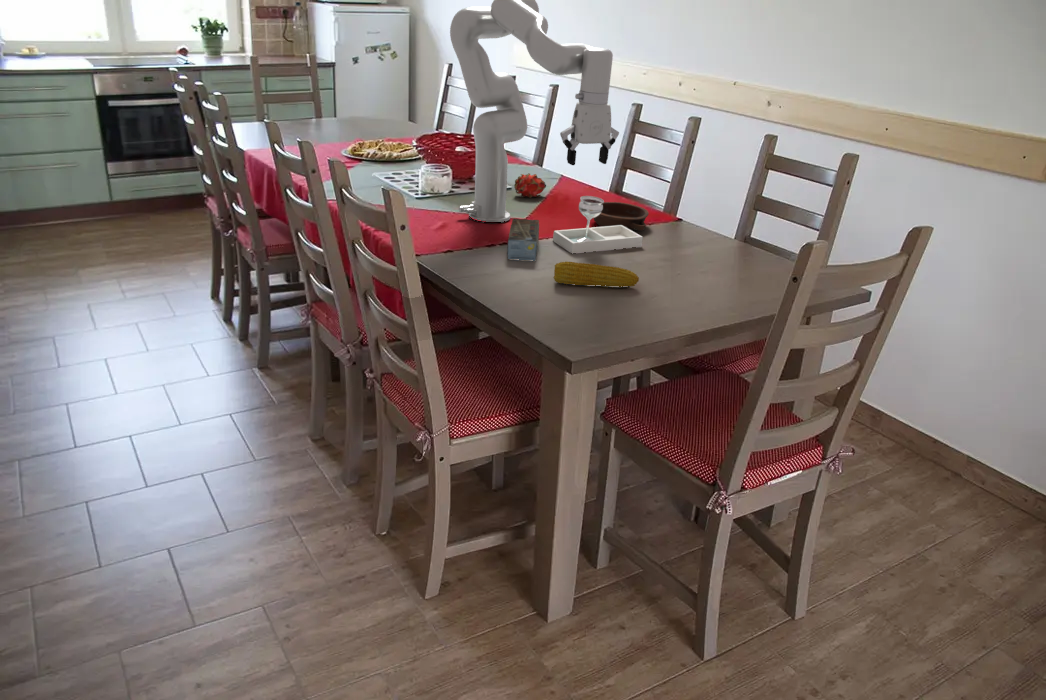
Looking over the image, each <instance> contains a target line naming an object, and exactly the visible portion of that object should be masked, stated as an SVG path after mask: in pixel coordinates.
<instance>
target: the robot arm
mask: <svg viewBox="0 0 1046 700" xmlns="http://www.w3.org/2000/svg"><path fill="white" fill-rule="evenodd" d="M548 23H549V22H548V20H547V18H546V17H545V16H544V15H542V14H541V13H540V8H539V4H538V2H537V1H536V0H493V1H492V2H491V5H490V6H469V7H465V8H462V9H460V10H459V11H457V12H456V13H455V15H454V16H453V17H452V20H451V23H450V28H449V29H450V30H449V34H450V35H449V36H450V41H451V44H452V45H451V46H452V48H453V51H454V52H455V54H456V58H457V60H458V62H459V66H460V70H461V74H462V77H463V80H464V85H465V88H466V91H467V95H468V97H469V101H470V102H471V104H472V105H473V106H474V107H476V108H479V109H480V108H481V109H484V108H486V109H487V108H494V107H495V108H496V110H488V111H485V112H483V113H481V114H479V115H478V116H477V117H476V118H475V120H474V123H473V129H472V131H473V137H474V138H473V139H474V145H475V173H474V174H475V178H474V180H475V181H474V200H473V201H471V203H470V204H468V205H459V206H458V210H459V211H458V212H459V213H466V214H468V217H469V216H470V217H472V218H474V219H477V220H481V221H486V222H501V223H505V222H507V221H509V220H510V219H511V213H510V212H508V211H507V210H506V208H507V207H506V206H507V205H506V204H507V189H508V168H509V167H508V166H509V165H508V164H509V163H508V161H509V159H508V155H507V152H506V148H505V146H504V145H505V144H507V143H513V142H518V141H520V140H522V139H523V138H524V137H525V136H526V133H527V131H528V120H527V116H526V111H525V109H524V104H523V101H522V98H521V93H520V90H519V87H518V84H517V81H516V80H515V78H513V76H512V75H510V74H509V73H507V72H499V71H498V72H496V71H495V72H494V70H493V69H492V65H491V62H490V58H489V55H488V54H487V51H486V50H485V49H484V47H483V45H481V44H480V42H479V40H481V39H482V40H486V39H487V40H488V39H489V40H490V39H500V38H505V37H507V36H509V35H512V36H514V38H516V39H517V40H519V41H520V42H521V43H523V44H524V45H525V46H526V50H527V52H528V54H529V56H530V58H531V59H532V60H533V62H535V63H536V64H537V65H539V66H541V67H542V68H543V69H544V70H546V71H547V72H549V73H551V74H553V75H556V76H565V75H567V76H568V75H579V74H581V78H580V89H579V92H578V93H575V97H574V98H575V100H578V101H577V102H576V105H575V108H574V111H573V115H572V121H571V126H569V127H568V128H566V129H564V130H562V131H561V132H559V133H560V134H559V135H560V137H561V140H562V143H563V144H564V146H565V148H566V149H567V153H566V154H567V155H566V161H567V164H569V165H570V166H575V165H576V158H577V150H576V148H577V147H578V146H579V145H580V144H583V145H585V144H586V145H589V144H595V145H596V144H601V146H600V147H599V154H598V162H599V163H601V164H603V165H606V164H607V162H608V158H609V151H610V150H611V149H612V146H613V145H614V143H615V142H616V140H617V138H618V136H619V134H620V132H619V131H618V130H616V129H615V128H613V127H612V108H611V107H612V106H611V104H610V103H609V94H610V85H611V75H612V67H613V59H614V58H613V56H614V55H613V51H611V49H609V48H605V47H595V46H590V45H588V44H585V43H581V42H580V43H561V44H560V43H558V42H557V41H555V40H554V39H552V38H551V37H549V35H547V33H548V30H549V24H548ZM569 135H570V140H569V137H568V136H569ZM470 217H469V218H470ZM504 221H505V222H504Z"/></svg>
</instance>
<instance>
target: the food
mask: <svg viewBox="0 0 1046 700" xmlns="http://www.w3.org/2000/svg"><path fill="white" fill-rule="evenodd" d="M553 275H554V276H553V281H554V282H556V283H557V282H558V283H557V284H562V283H564V284H563V285H565V284H566V285H567V284H575V285H595V286H596V285H601V286H605V285H606V286H619V287H621V286H622V287H623V286H630V287H635V285H637V283H639V281H640V278H639V276H638V275H637V273H635V272H634V271H632V270H631V269H630V270H629V269H626V268H622V267H617V266H610V265H603V264H595V263H585V262H575V261H560V262H558V263H555V265H554V273H553ZM575 285H574V286H575Z"/></svg>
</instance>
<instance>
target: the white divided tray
mask: <svg viewBox="0 0 1046 700" xmlns="http://www.w3.org/2000/svg"><path fill="white" fill-rule="evenodd" d="M552 234H553V235H552V236H553V237H552V242H554V243H556V244H557V245H558V246H560V247H561V248H562V249H564V250H566V251H567V252H569V253H570V254H571V253H572V255H574V254H573V253H576V254H583V253H584V252H586V253H594V252H593V251H596V252H605V251H615V250H614V249H616V250H622V249H623V248H626V249H633V248H632V247H636V248H642V245H643V236H642V235H640V234H638V233H637V232H635V231H633V229H632V230H630V229H628V228H626V227H624V226H623V225H616V226H604V227H602V226H596V227H595V226H593V227H589V228H588V233H587V238H589V239H591V240H593V241H582V242H578V241H577V238H585V235H586V227H584V228H583V227H581V228H570V229H560V230H558V229H557V230H553V233H552ZM623 250H624V249H623Z"/></svg>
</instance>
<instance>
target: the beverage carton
mask: <svg viewBox="0 0 1046 700" xmlns="http://www.w3.org/2000/svg"><path fill="white" fill-rule="evenodd" d="M539 235H540V221H539V219H527V218H525V219H524V218H521V219H519V218H512V221H511V225H510V229H509V233H508V238H507V239H508V240H507V253H506V254H507V260H508V259H519V260H533V261H535V260H536V258H537V252H538V245H539V238H540V236H539ZM519 260H518V261H519ZM535 262H536V261H535Z"/></svg>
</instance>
